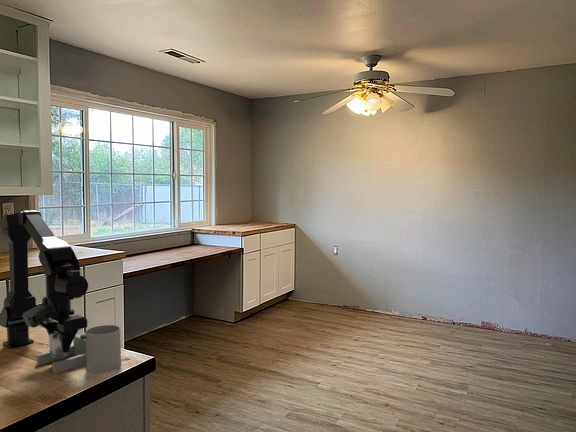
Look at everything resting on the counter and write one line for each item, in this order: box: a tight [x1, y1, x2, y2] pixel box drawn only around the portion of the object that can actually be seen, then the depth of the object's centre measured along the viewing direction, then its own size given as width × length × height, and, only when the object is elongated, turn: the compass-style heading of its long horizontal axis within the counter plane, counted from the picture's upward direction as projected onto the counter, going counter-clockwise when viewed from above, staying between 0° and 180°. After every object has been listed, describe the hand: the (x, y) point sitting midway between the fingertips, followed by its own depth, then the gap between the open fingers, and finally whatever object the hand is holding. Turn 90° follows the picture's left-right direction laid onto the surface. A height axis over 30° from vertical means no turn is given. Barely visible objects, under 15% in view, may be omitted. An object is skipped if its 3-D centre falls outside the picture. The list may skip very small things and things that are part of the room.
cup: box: [84, 324, 122, 374], centre depth 119 cm, size 8×8×10 cm
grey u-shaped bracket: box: [35, 332, 87, 375], centre depth 123 cm, size 10×14×6 cm
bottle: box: [48, 331, 71, 359], centre depth 121 cm, size 5×5×7 cm
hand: (60, 350), depth 121 cm, fingers closed on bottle, 5 cm apart
